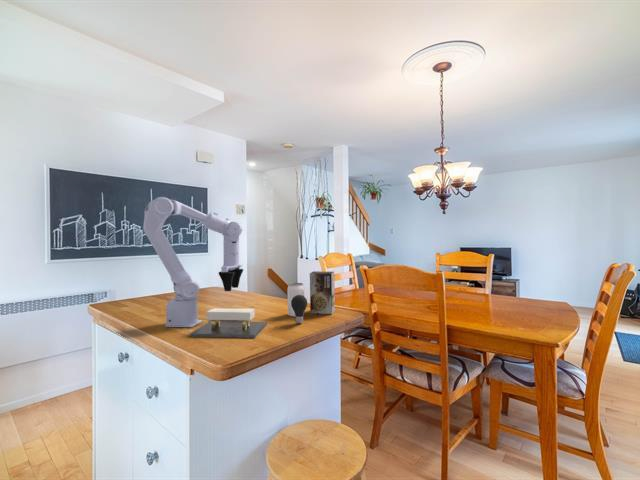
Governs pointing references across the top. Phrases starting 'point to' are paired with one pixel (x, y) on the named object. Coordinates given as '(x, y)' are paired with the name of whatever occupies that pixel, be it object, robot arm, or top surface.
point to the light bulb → (299, 307)
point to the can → (292, 292)
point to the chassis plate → (229, 329)
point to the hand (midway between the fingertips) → (231, 289)
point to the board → (230, 314)
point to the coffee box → (322, 292)
